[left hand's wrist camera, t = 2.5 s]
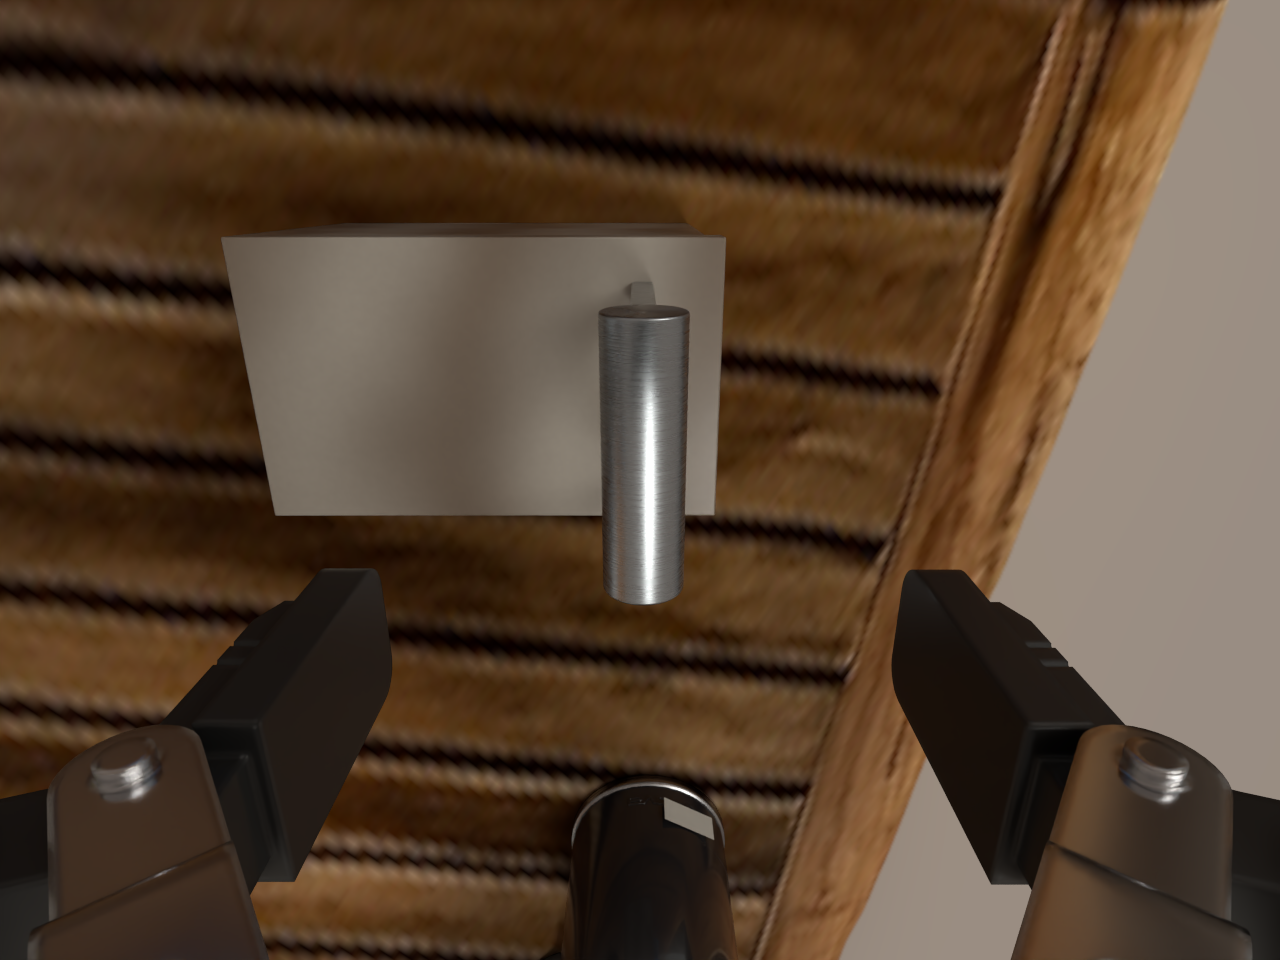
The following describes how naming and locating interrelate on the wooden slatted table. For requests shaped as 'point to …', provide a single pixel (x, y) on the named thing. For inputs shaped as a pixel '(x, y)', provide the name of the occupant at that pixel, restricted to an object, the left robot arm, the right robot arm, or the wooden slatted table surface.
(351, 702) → the left robot arm
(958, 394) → the wooden slatted table surface
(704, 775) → the wooden slatted table surface
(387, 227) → the chest
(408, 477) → the grey piece
